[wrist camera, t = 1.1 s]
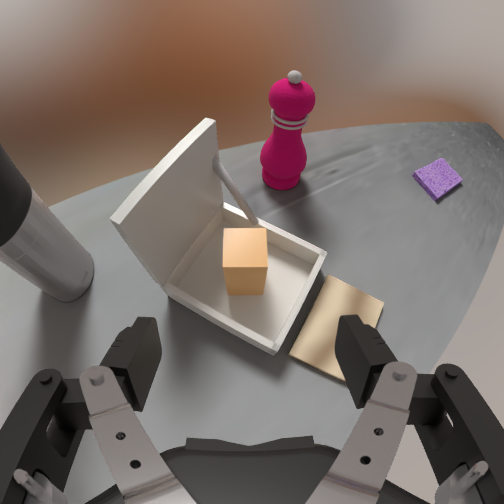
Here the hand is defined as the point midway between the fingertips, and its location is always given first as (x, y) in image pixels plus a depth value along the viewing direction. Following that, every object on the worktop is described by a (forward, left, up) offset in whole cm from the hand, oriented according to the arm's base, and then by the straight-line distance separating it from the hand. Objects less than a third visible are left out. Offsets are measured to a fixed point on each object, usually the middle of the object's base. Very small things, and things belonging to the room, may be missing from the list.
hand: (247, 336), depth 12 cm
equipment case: (-6, +10, -24) cm, 27 cm away
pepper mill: (-10, +29, -24) cm, 39 cm away
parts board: (+8, +10, -24) cm, 27 cm away
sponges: (+18, +48, -25) cm, 57 cm away
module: (-6, +10, -23) cm, 26 cm away
